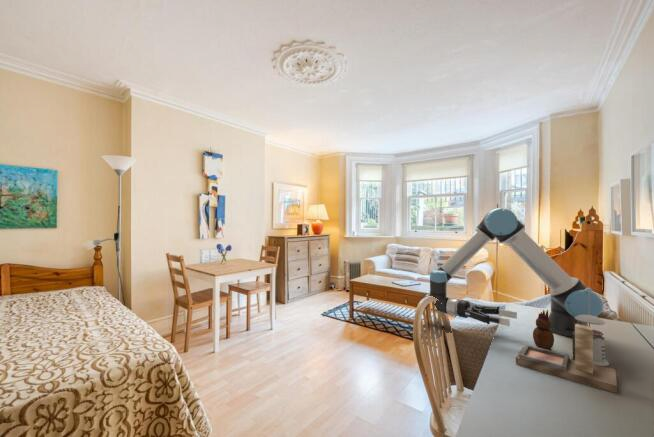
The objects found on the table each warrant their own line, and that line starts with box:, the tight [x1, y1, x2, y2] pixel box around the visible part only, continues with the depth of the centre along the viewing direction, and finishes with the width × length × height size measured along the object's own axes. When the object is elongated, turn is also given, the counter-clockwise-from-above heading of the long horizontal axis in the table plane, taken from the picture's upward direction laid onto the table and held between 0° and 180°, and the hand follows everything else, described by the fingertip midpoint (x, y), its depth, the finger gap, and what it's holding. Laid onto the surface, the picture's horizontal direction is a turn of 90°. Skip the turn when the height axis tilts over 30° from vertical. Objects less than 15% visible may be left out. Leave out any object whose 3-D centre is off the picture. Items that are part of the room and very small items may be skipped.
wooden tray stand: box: [515, 324, 618, 394], centre depth 93 cm, size 24×13×15 cm, turn 46°
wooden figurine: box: [532, 309, 555, 350], centre depth 110 cm, size 7×6×15 cm
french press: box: [571, 287, 610, 367], centre depth 102 cm, size 10×12×25 cm
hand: (513, 318), depth 117 cm, fingers open, 13 cm apart
